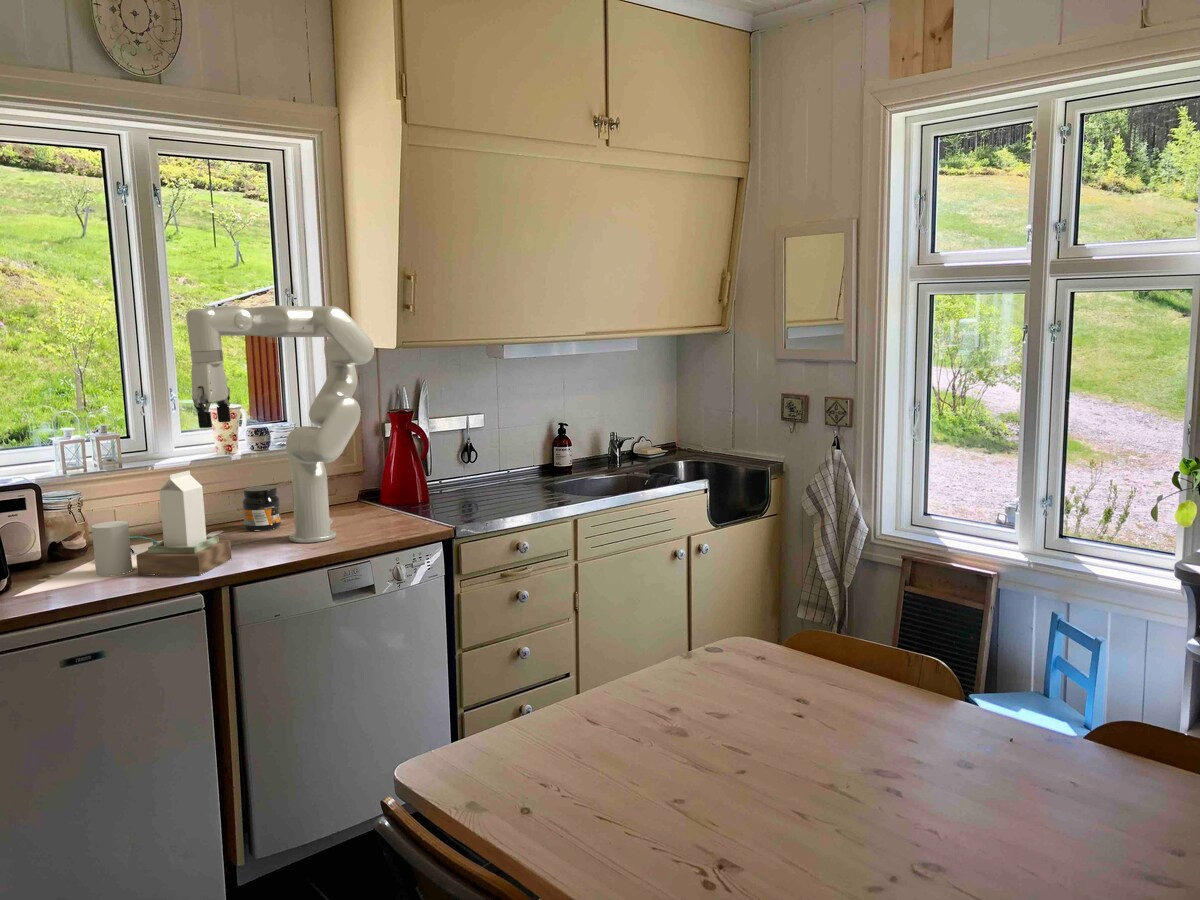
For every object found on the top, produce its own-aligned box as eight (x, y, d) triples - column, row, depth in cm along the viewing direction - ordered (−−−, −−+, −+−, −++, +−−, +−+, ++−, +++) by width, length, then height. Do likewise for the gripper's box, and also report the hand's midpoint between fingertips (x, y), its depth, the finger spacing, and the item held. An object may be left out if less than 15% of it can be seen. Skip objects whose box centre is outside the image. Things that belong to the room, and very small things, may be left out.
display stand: (173, 558, 255) (171, 534, 254) (231, 559, 253) (229, 534, 252) (137, 575, 239) (135, 549, 238) (199, 575, 237) (197, 549, 236)
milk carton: (207, 544, 248) (201, 470, 245) (187, 551, 241) (181, 475, 238) (183, 543, 250) (177, 470, 247) (164, 549, 243) (157, 474, 240)
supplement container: (260, 533, 283) (257, 492, 281) (236, 529, 289) (233, 489, 287) (289, 526, 292) (286, 486, 290) (265, 523, 297) (262, 484, 296)
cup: (139, 567, 246) (135, 521, 245) (120, 576, 238) (115, 528, 237) (108, 567, 247) (104, 521, 245) (88, 576, 239) (84, 528, 237)
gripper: (210, 355, 256) (218, 420, 259) (175, 361, 239) (183, 430, 242) (237, 354, 255) (245, 419, 258) (204, 360, 238) (212, 429, 241)
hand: (215, 424), depth 250 cm, fingers open, 9 cm apart
